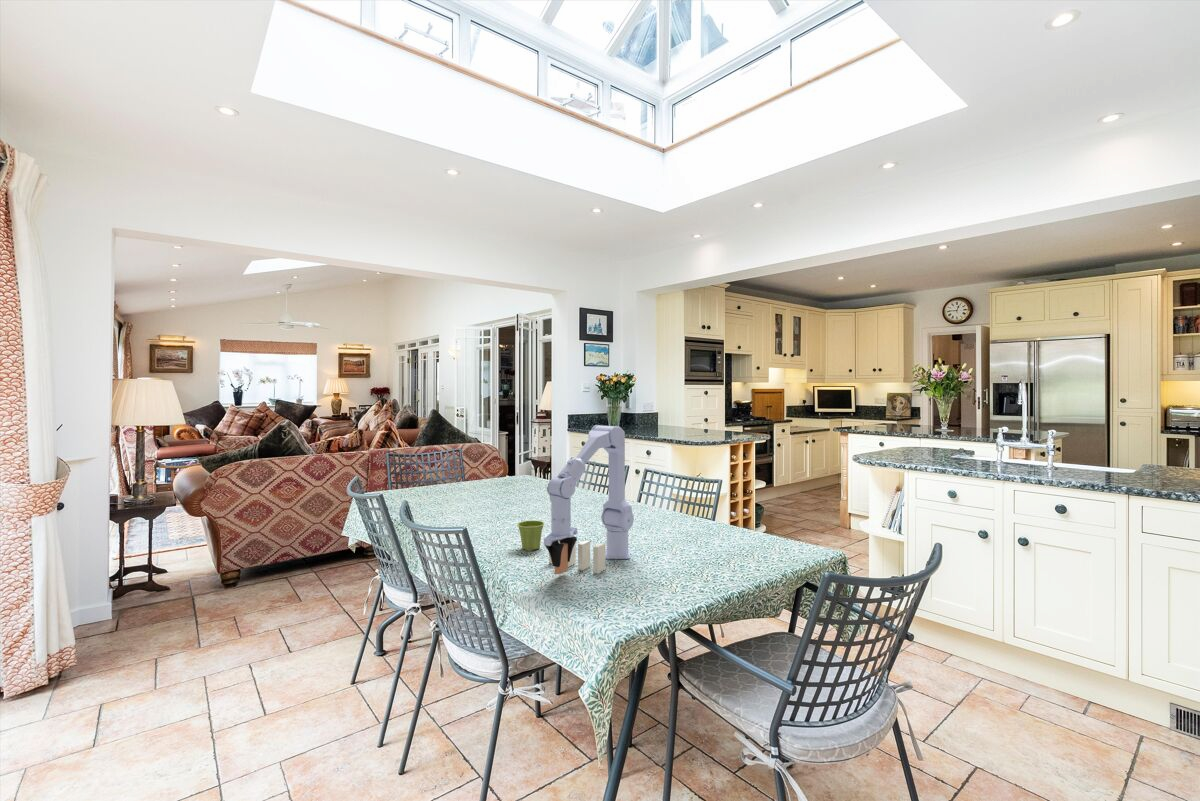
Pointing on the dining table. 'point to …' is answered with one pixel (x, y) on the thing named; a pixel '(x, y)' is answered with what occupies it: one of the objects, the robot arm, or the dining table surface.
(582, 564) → the ivory domino
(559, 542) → the ivory domino
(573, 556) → the ivory domino
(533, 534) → the plant pot
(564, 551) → the rust domino
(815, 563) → the dining table surface
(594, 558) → the ivory domino
